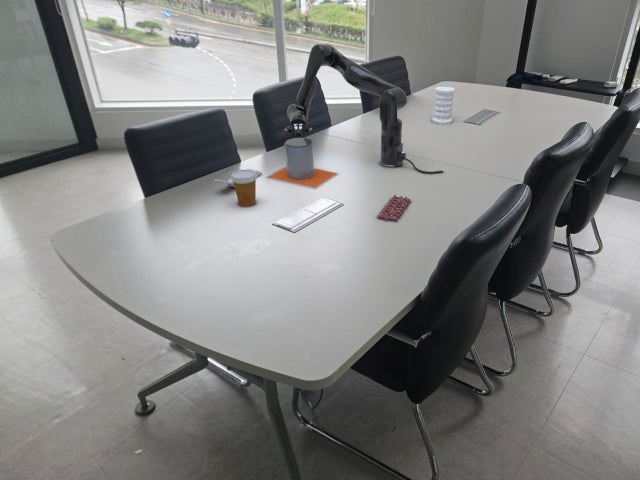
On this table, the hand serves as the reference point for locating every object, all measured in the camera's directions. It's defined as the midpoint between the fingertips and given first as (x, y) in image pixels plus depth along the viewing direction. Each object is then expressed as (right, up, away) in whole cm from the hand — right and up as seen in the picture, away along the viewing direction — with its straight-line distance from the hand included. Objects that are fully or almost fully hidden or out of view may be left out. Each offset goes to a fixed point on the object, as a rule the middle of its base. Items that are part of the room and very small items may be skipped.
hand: (298, 134), depth 223 cm
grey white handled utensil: (-23, -23, -10) cm, 34 cm away
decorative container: (+73, +28, +71) cm, 106 cm away
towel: (+2, -18, -2) cm, 19 cm away
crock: (+1, -18, -2) cm, 18 cm away
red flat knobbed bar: (+41, -37, -30) cm, 63 cm away
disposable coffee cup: (-16, -34, -26) cm, 46 cm away
